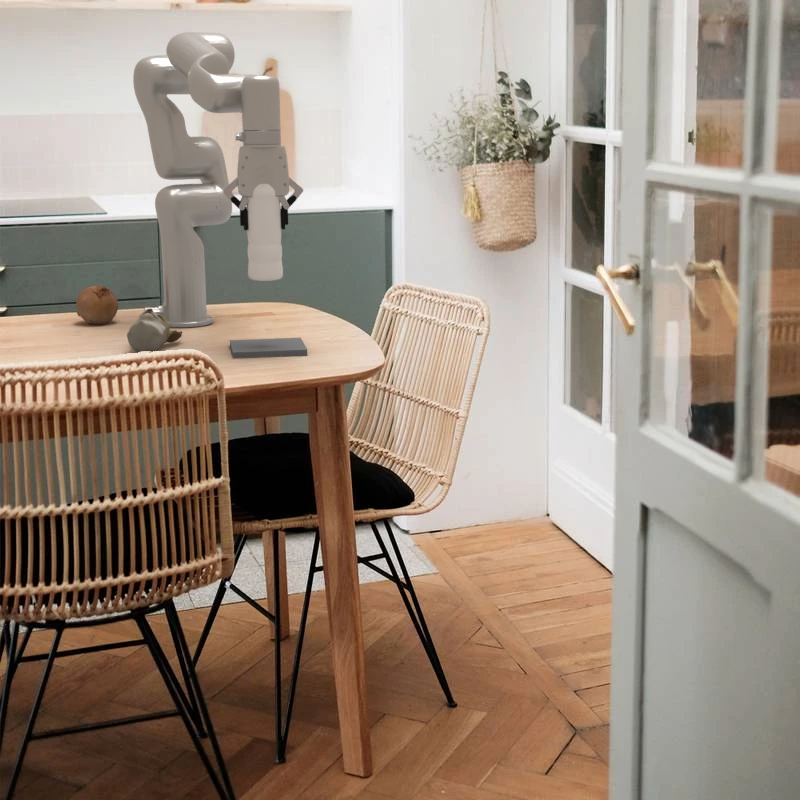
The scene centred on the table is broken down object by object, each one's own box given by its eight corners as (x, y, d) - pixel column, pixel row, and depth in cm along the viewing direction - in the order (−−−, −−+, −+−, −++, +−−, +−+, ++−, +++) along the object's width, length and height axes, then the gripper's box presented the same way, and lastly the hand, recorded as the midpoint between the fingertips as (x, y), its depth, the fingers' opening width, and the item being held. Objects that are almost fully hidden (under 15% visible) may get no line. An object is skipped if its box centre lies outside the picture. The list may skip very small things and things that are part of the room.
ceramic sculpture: (114, 312, 260) (135, 304, 275) (115, 354, 262) (136, 344, 277) (166, 313, 260) (184, 305, 274) (167, 355, 261) (185, 345, 276)
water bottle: (277, 281, 258) (273, 155, 252) (243, 280, 260) (239, 155, 253) (287, 276, 265) (284, 153, 259) (254, 275, 266) (250, 153, 260)
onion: (111, 337, 296) (121, 301, 291) (70, 328, 293) (79, 291, 288) (114, 316, 303) (123, 280, 298) (73, 307, 301) (82, 271, 296)
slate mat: (233, 358, 258) (232, 352, 258) (229, 345, 271) (229, 340, 270) (307, 355, 261) (307, 349, 261) (300, 343, 273) (300, 337, 273)
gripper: (218, 140, 250) (222, 232, 255) (307, 139, 253) (309, 230, 258) (217, 139, 258) (220, 228, 262) (303, 138, 261) (305, 226, 265)
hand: (264, 228), depth 260 cm, fingers closed on water bottle, 6 cm apart
